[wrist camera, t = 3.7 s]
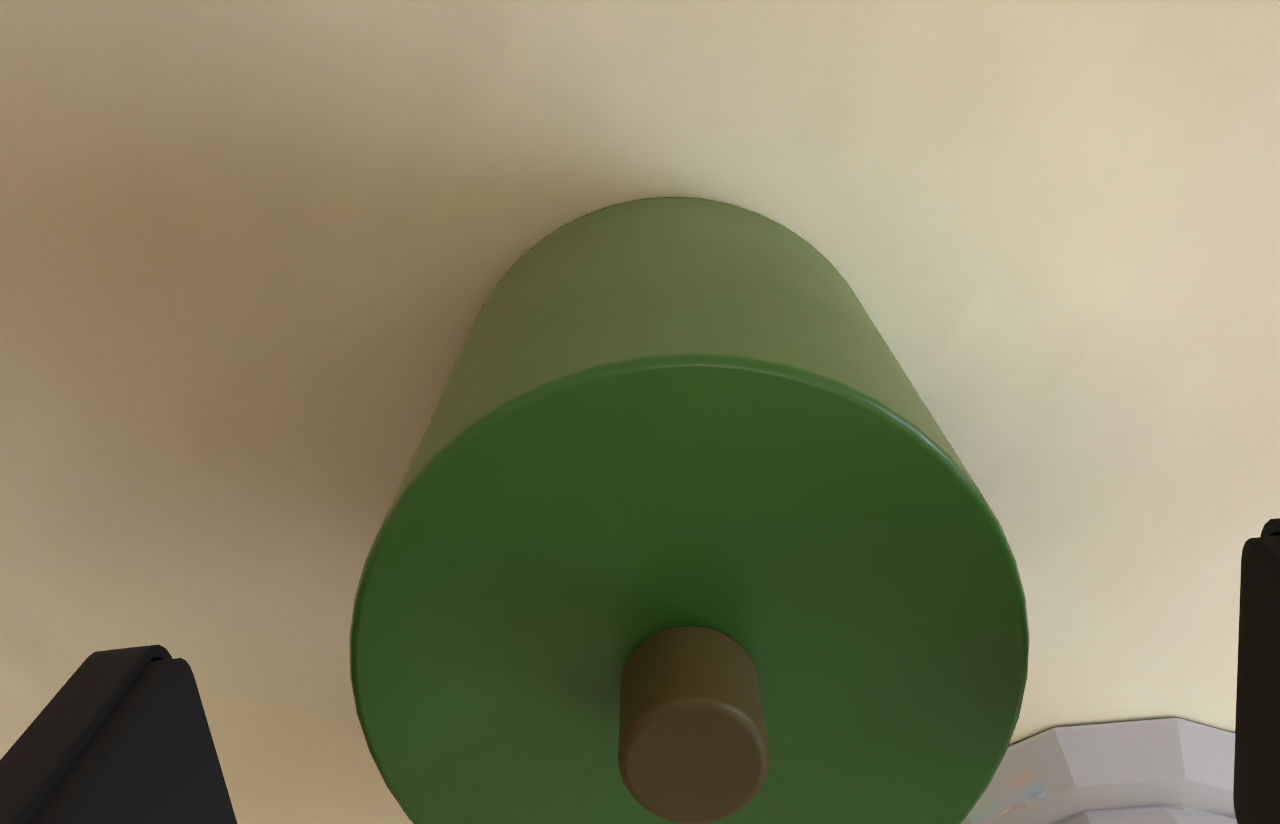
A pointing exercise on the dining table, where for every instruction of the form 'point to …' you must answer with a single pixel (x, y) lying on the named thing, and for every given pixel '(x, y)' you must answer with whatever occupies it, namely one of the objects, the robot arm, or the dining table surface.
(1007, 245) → the dining table surface
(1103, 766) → the french press
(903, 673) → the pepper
